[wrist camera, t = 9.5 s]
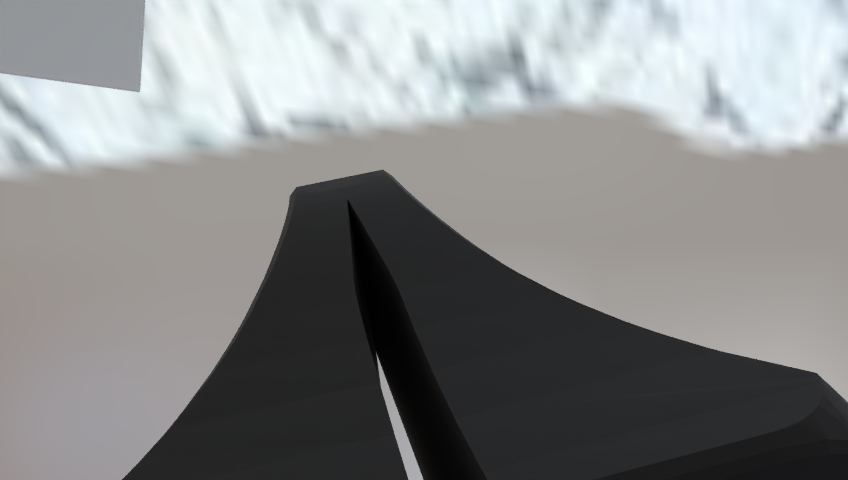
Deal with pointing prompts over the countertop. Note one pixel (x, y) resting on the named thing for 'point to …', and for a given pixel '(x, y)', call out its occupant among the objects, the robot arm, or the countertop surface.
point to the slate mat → (74, 41)
